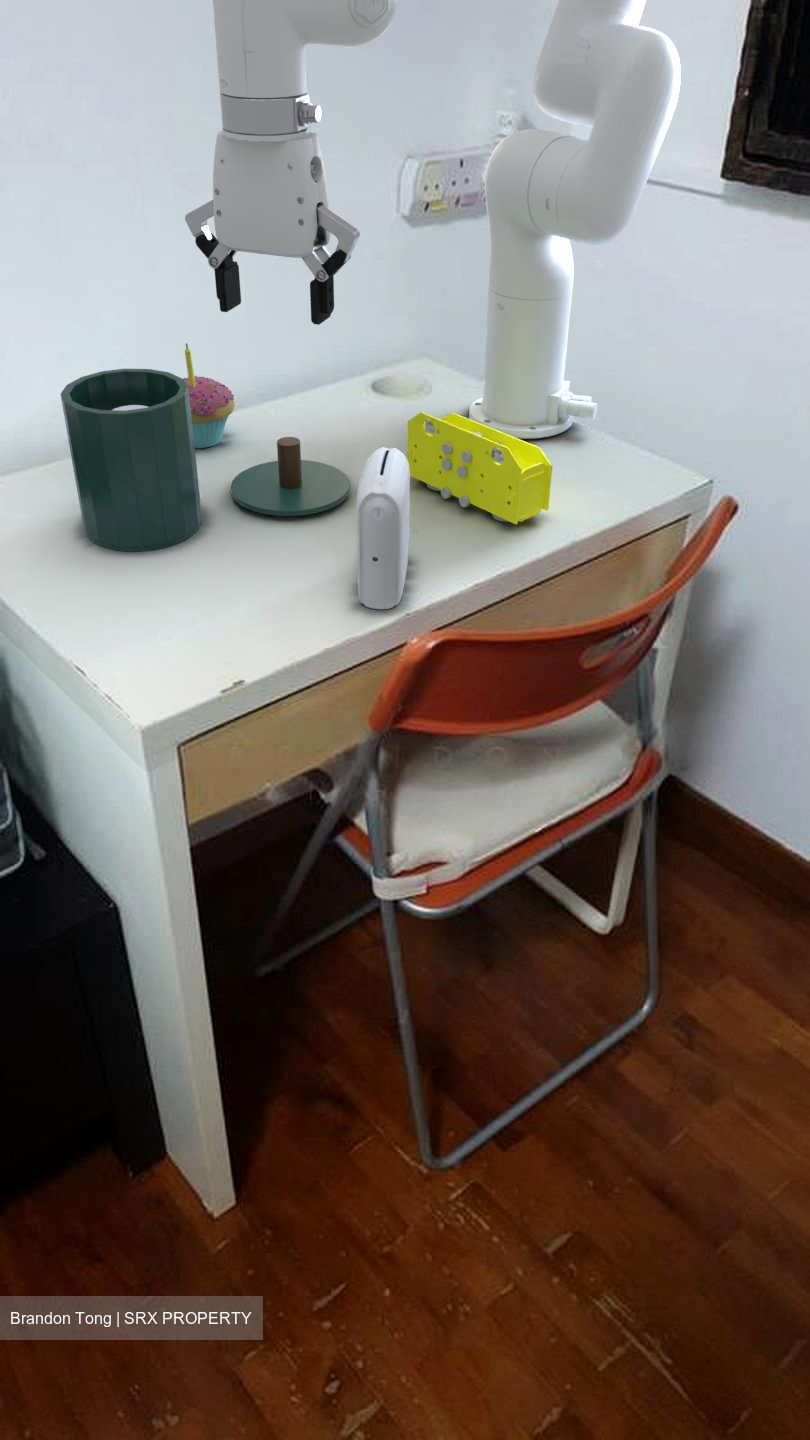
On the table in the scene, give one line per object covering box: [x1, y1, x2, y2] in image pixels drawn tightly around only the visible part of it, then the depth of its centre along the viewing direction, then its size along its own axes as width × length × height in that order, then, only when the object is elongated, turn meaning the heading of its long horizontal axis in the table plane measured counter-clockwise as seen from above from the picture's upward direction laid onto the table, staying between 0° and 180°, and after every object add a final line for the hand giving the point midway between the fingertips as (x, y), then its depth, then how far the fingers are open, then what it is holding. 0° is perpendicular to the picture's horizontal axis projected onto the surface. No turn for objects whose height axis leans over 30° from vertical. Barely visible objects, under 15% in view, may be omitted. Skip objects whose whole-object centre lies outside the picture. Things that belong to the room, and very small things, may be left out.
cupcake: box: [182, 342, 236, 449], centre depth 130 cm, size 9×8×12 cm
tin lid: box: [230, 436, 351, 517], centre depth 120 cm, size 13×13×6 cm
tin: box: [60, 368, 203, 552], centre depth 112 cm, size 12×12×14 cm
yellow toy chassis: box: [406, 411, 553, 525], centre depth 119 cm, size 16×6×8 cm, turn 43°
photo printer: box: [356, 446, 411, 610], centre depth 103 cm, size 10×4×12 cm, turn 175°
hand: (275, 314), depth 110 cm, fingers open, 9 cm apart
